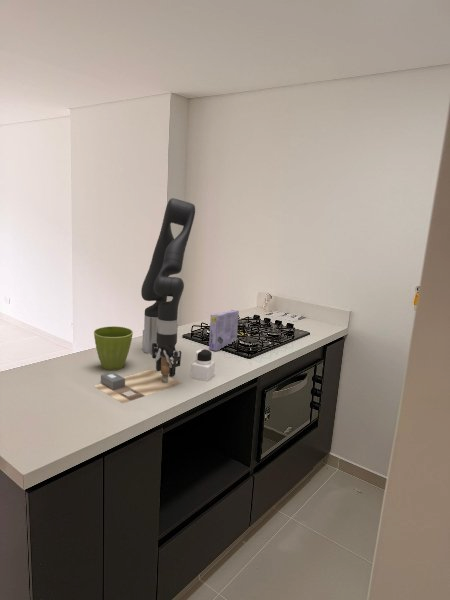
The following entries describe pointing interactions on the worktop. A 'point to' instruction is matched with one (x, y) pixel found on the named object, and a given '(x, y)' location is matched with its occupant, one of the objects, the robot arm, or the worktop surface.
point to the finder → (112, 380)
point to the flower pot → (113, 346)
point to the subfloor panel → (139, 385)
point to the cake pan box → (223, 329)
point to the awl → (164, 369)
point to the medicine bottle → (203, 365)
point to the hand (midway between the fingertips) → (165, 373)
